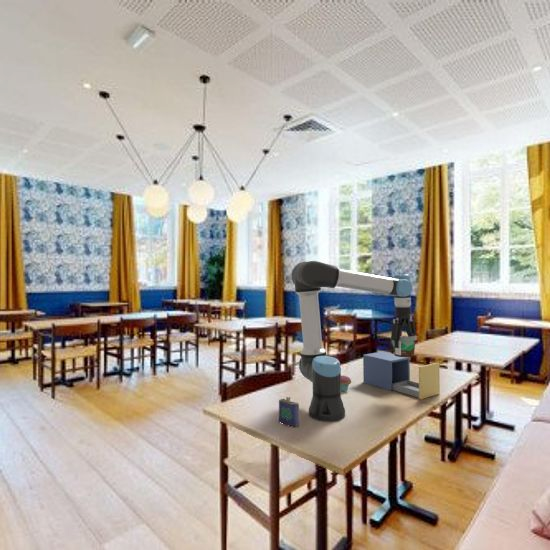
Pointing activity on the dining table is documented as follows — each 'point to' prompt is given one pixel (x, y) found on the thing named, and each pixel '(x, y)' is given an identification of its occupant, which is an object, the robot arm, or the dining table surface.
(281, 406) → the flask
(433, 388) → the tan boxy piece
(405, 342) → the food container
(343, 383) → the cupcake
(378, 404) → the dining table surface
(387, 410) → the dining table surface
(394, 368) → the open box
